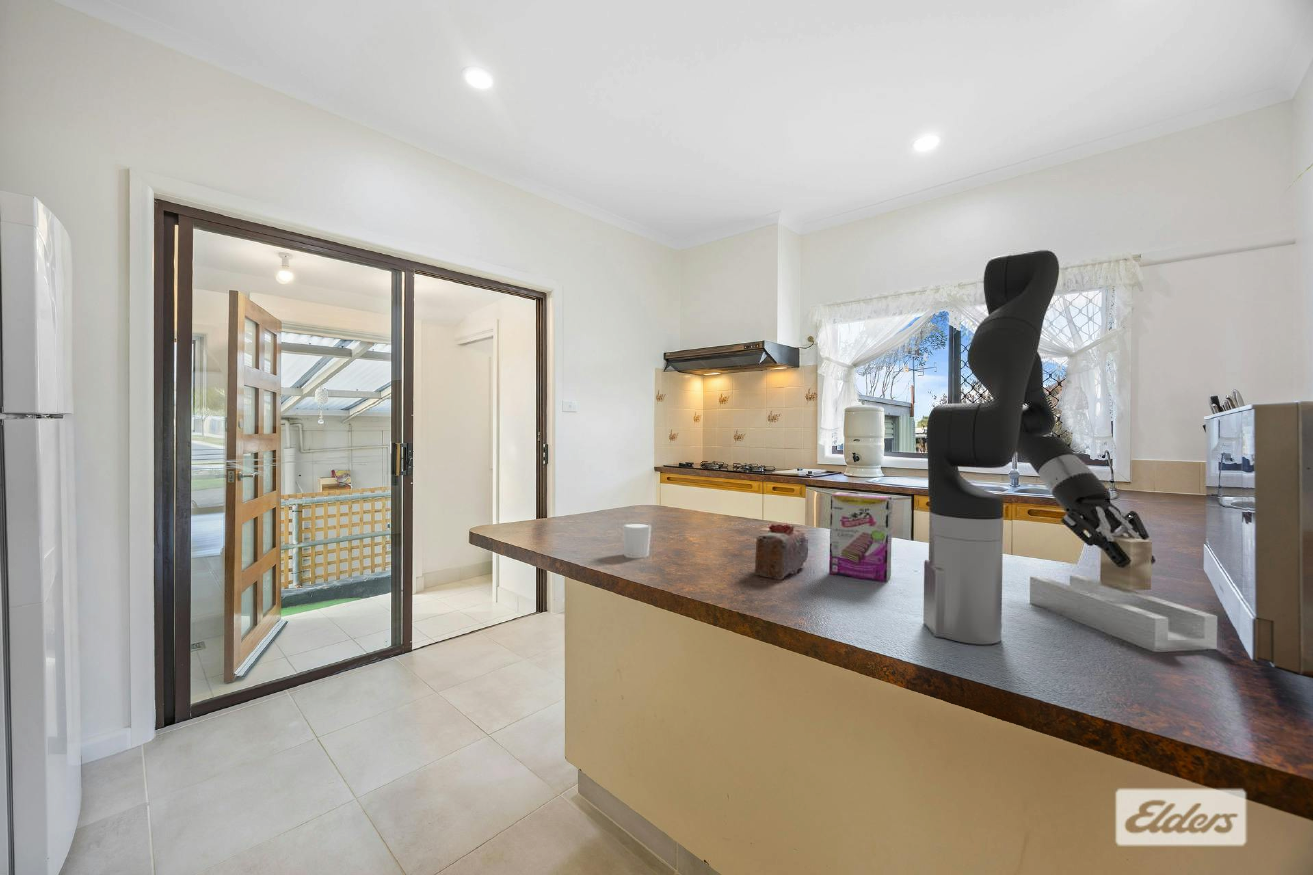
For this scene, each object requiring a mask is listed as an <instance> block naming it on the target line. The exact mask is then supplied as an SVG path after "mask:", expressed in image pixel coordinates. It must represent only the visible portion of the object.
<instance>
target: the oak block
mask: <svg viewBox="0 0 1313 875" xmlns="http://www.w3.org/2000/svg"><path fill="white" fill-rule="evenodd" d="M1113 538H1114V541H1113V542H1117V543H1118V545H1119V546H1120V547H1121V548H1122V550H1123V551H1124V552H1125V553H1126V555H1127V556H1128V557H1129V558H1130V559H1131V563H1129V564H1128V565H1126V566H1125V567H1117V565H1116V564H1115V563H1114V562H1112V560H1111V559H1110V558H1109V556H1108V555H1107V554H1106V553H1105V551H1104V550H1103V549H1100V566H1099V567H1100V568H1099V569H1100V572H1099V574H1100V575H1099V576H1100V577H1099V581H1101V582H1105V583H1108V584H1112V585H1115V586H1118V587H1122V588H1125V589H1128V590H1132V591H1151V590H1152V565H1151V559H1152V555H1153V550H1152V549H1153V541H1151V540H1148V539H1146V540H1142V539H1136V538H1131V537H1129V536H1125V535H1124V536H1113Z"/></svg>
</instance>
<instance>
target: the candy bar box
mask: <svg viewBox="0 0 1313 875" xmlns="http://www.w3.org/2000/svg"><path fill="white" fill-rule="evenodd" d="M893 502H894V501H893V496H890V495H889V496H888V495H876V494H865V493H851V492H840V491H836V492H834V493H831V495H830V515H829V516H830V517H829V518H830V522H829V523H830V524H829V526H830V528H829V530H830V531H829V560H828V561H829V562H828V563H829V564H828V567H829V568H828V569H829V571H828V572H829V574H831V575H839V576H843V577H844V576H845V577H849V578H857V579H863V580H869V581H876V582H881V583H882V582H883V583H887V582H888V581H889V579H891V576H892V542H893V540H892V537H893V536H892V535H893V504H894V503H893Z"/></svg>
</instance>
